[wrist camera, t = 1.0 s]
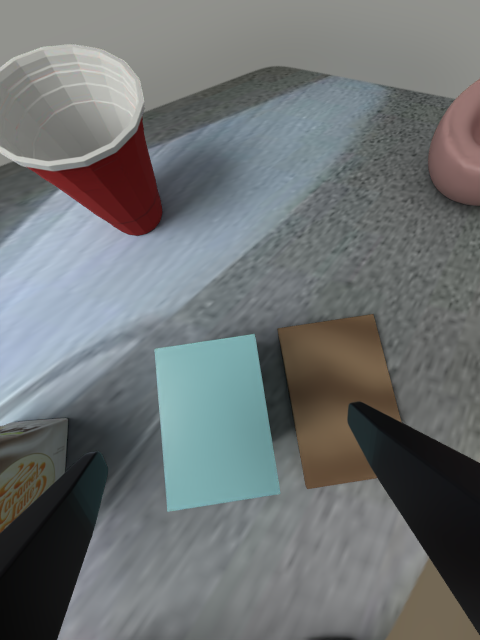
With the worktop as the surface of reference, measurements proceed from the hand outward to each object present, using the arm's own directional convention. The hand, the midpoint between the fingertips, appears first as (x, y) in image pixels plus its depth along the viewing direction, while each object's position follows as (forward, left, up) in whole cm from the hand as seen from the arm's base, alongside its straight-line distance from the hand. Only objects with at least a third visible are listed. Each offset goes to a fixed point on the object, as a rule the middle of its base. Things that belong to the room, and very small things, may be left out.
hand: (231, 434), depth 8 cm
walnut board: (-2, -10, -15) cm, 18 cm away
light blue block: (-1, +2, -15) cm, 15 cm away
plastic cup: (+21, +9, -15) cm, 27 cm away
